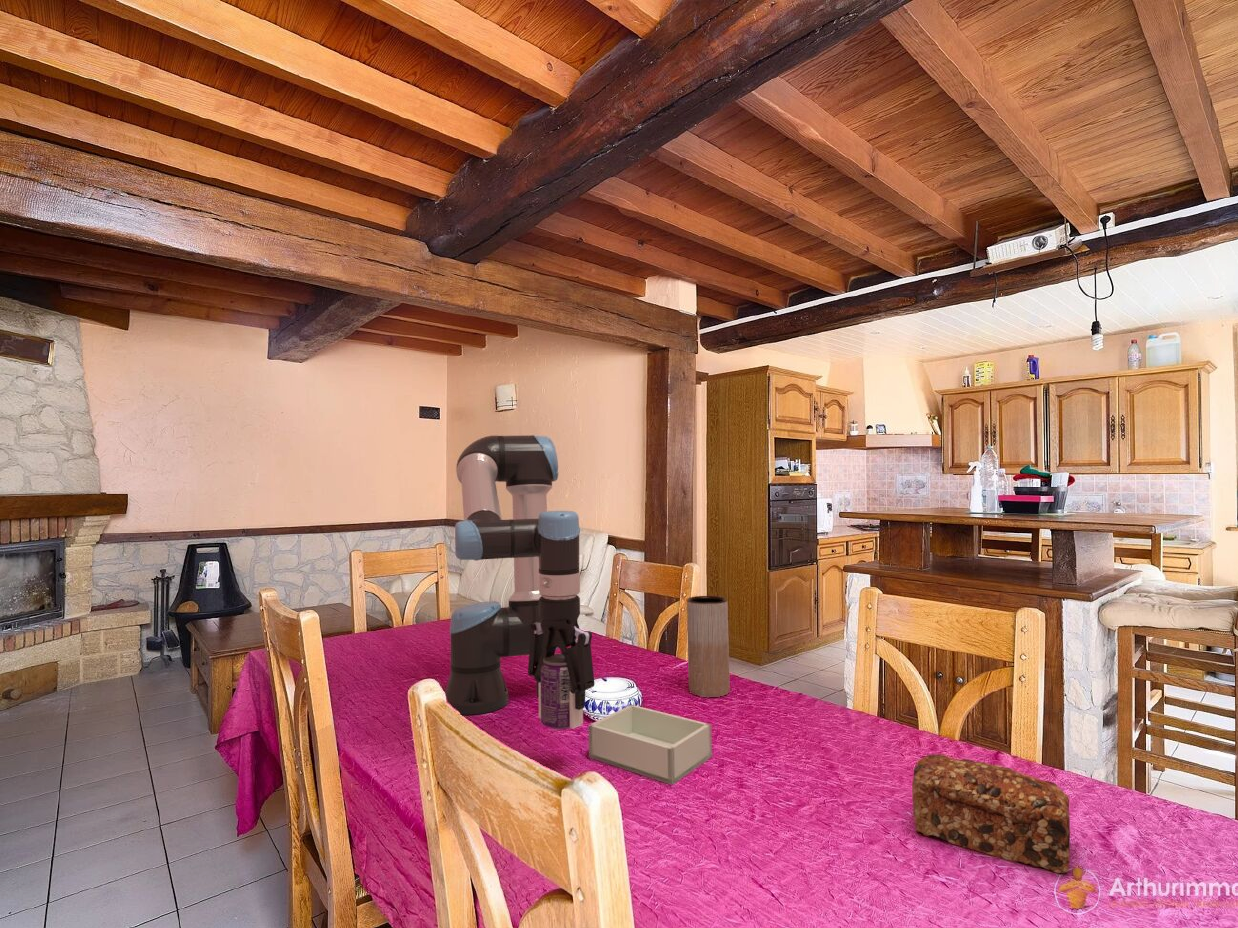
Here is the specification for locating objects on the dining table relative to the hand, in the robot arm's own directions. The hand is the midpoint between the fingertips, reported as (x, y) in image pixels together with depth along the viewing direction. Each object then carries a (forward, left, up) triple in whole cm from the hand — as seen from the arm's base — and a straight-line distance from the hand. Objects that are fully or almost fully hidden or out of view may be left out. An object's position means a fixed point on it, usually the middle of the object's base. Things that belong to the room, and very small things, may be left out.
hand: (560, 720), depth 114 cm
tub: (+11, +13, -8) cm, 19 cm away
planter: (+2, +52, -8) cm, 52 cm away
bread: (+66, +19, -9) cm, 69 cm away
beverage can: (0, 0, -1) cm, 1 cm away
